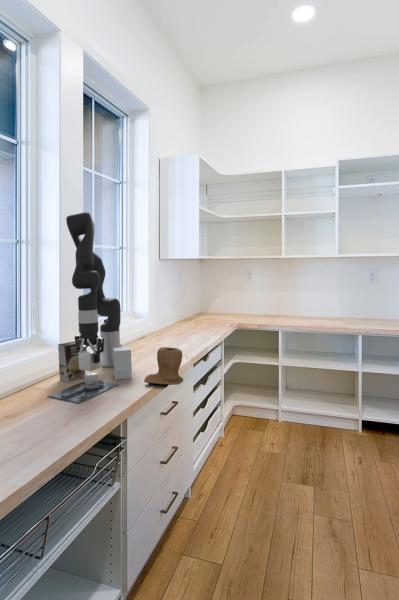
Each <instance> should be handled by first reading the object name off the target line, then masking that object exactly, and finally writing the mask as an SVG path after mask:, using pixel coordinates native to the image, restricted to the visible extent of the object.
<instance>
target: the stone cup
mask: <svg viewBox="0 0 399 600" xmlns="http://www.w3.org/2000/svg"><path fill="white" fill-rule="evenodd" d="M182 358H183V350H182V349H180V348H177V347H167V346H165V347H164V346H163V347H162V346H161V347H159V348H158V350H157V352H156V362H157V365H158V372H156V373H152V374H151V373H150V374H148V375H146V377H144V380H143V382H144V383H146V384H155V385H174V386H175V385H176V386H177V385H180V384H181V383H183V382H184V377H183V376H180V375H179V372H180V371H179V370H180V367H181V365H182V364H181V363H182V361H183V360H182Z"/></svg>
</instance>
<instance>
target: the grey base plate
mask: <svg viewBox="0 0 399 600" xmlns="http://www.w3.org/2000/svg"><path fill="white" fill-rule="evenodd" d="M119 385H120V384H119V383H115V382H109V381H104V380H102V379H99V374H98V373H96V372H95V373H94V372H90V373H87V374H85V378H84V381H82V382H79V383H76V384H73V385H72V386H69V387H66V388H64V389H62V390H59V391H55V392H54V393H51V394H48V395H47V397H48V398H52V399H55V400H60V401H64V402H65V401H66V402H70V403H73V404H77V405H78V404H81V403H83V402H86V401H88V400H90V399H91V398H94V397H96V396H98V395H101V394H103V393H104V392H107V391H109V390H112V389H114V388H115V387H118V386H119Z"/></svg>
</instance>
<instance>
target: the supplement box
mask: <svg viewBox="0 0 399 600" xmlns="http://www.w3.org/2000/svg"><path fill="white" fill-rule="evenodd" d="M113 358H114V366H113V374H114V379H115V381H117V380H126V379H127V380H128V379H132V378H133V371H132V370H133V369H132V365H133V364H132V349H131V348H130V346H121V347H120V348H113Z"/></svg>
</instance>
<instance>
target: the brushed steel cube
mask: <svg viewBox="0 0 399 600" xmlns="http://www.w3.org/2000/svg"><path fill="white" fill-rule="evenodd" d="M96 351H97V350H96ZM78 355H79V370H85V372H92V371H96V370H99V369H101V368H103V366H102V356H101V353H100V361H99V363H94V352H93V350H92V349H91V348H90V349H88V348H87V349H86V350H85V351H82V352H78Z"/></svg>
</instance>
